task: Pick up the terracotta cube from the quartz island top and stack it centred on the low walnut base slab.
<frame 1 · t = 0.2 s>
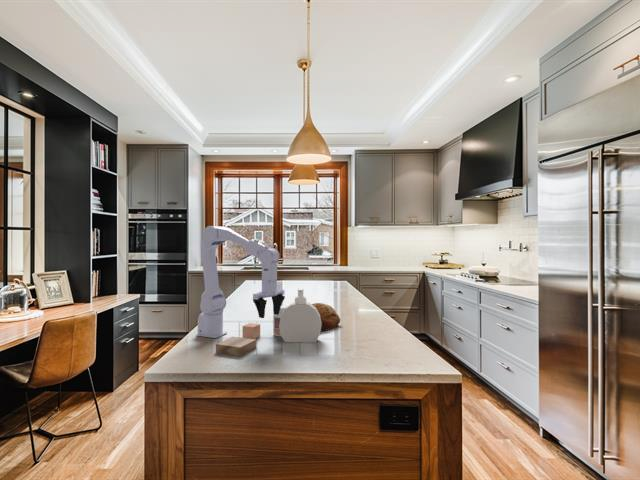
hand: (269, 315, 140), 10 cm above the countertop, fingers open, 7 cm apart
walnut base: (236, 350, 130), on the countertop
pill bottle: (281, 335, 150), on the countertop
terracotta block: (251, 337, 146), on the countertop
soap bottle: (300, 341, 141), on the countertop
bread: (311, 327, 164), on the countertop
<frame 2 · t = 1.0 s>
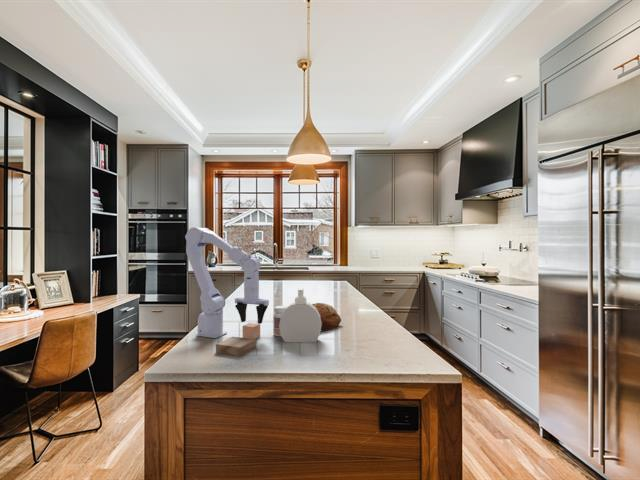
hand: (251, 322, 146), 6 cm above the countertop, fingers open, 7 cm apart
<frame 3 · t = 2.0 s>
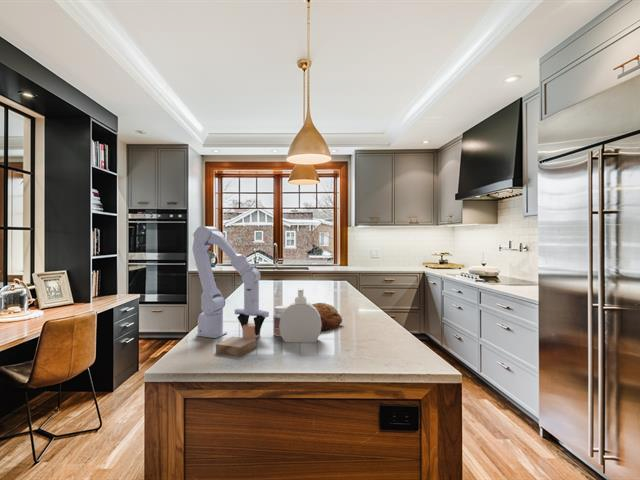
hand: (251, 333, 146), 1 cm above the countertop, fingers closed on terracotta block, 5 cm apart
terracotta block: (251, 337, 146), on the countertop, touching gripper
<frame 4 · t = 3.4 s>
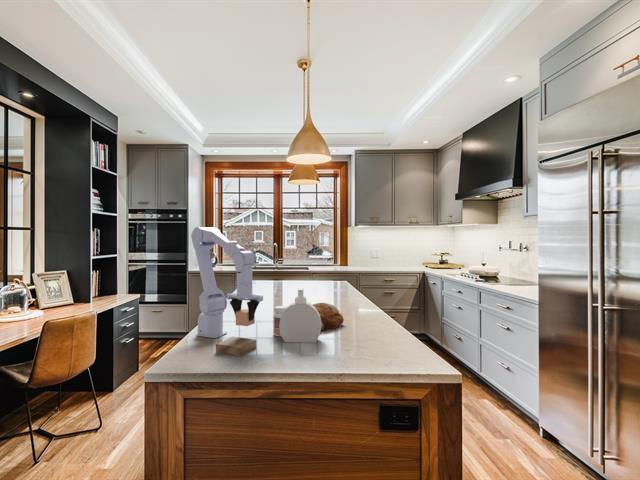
hand: (244, 319, 138), 9 cm above the countertop, fingers closed on terracotta block, 5 cm apart
terracotta block: (245, 324, 138), point 7 cm above the countertop, touching gripper
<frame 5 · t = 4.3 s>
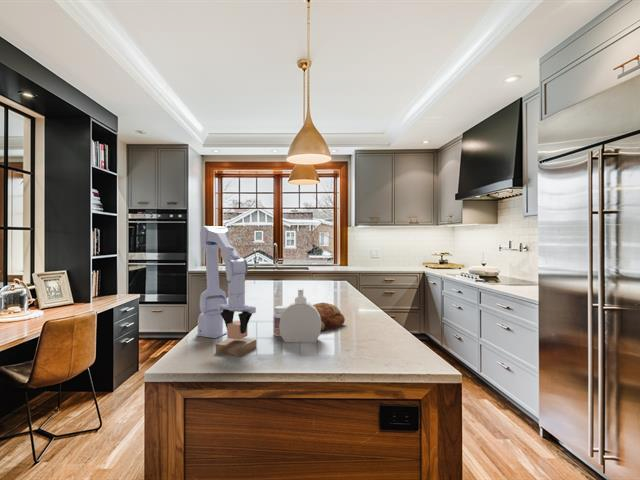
hand: (236, 332, 130), 6 cm above the countertop, fingers closed on terracotta block, 5 cm apart
terracotta block: (237, 337, 130), point 5 cm above the countertop, touching gripper
when the fingers open (6 cm above the countertop, at t = 4.9 s): terracotta block stays where it is, resting on walnut base.
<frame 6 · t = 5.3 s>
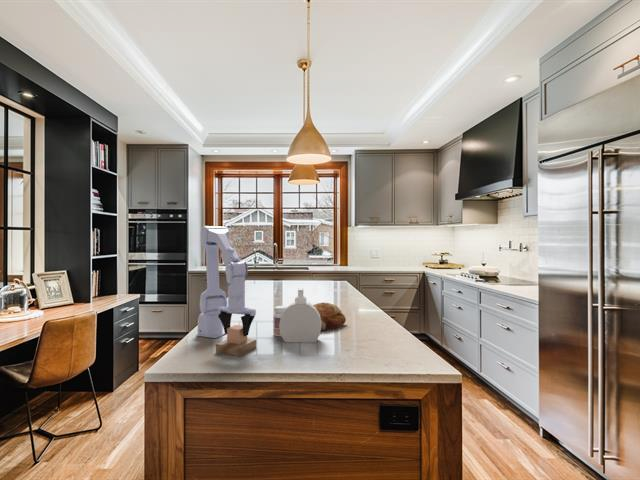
hand: (236, 334, 130), 6 cm above the countertop, fingers open, 7 cm apart
terracotta block: (237, 341, 130), point 3 cm above the countertop, touching walnut base
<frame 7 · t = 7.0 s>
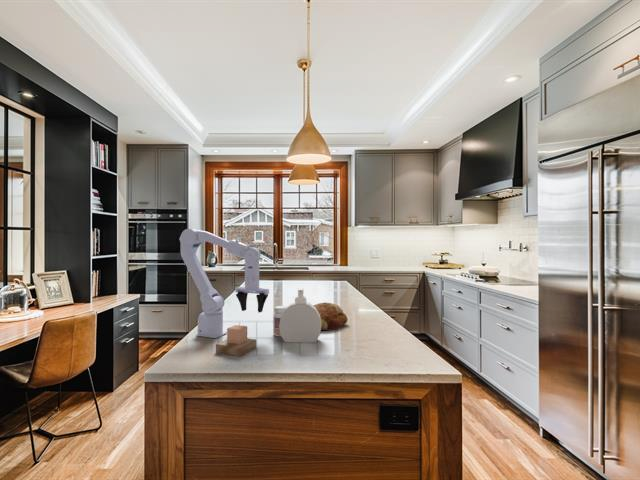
hand: (252, 311, 148), 10 cm above the countertop, fingers open, 7 cm apart
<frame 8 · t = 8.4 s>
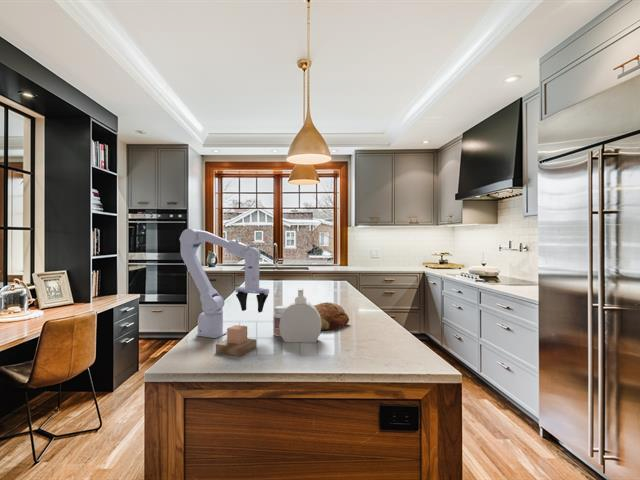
hand: (252, 311, 148), 10 cm above the countertop, fingers open, 7 cm apart
at the end: terracotta block inside the target area on the walnut base (0.5 cm from its centre), point 3.0 cm above the walnut base's base; terracotta block tilted 0°; the gripper is holding nothing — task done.
